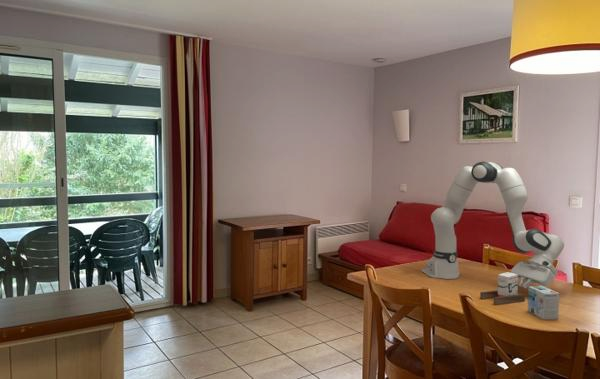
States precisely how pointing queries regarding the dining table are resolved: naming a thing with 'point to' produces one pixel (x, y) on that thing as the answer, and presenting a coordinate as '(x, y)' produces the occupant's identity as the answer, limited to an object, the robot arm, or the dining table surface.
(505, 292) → the ink box
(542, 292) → the light bulb box
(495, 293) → the walnut chute
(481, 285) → the dining table surface
